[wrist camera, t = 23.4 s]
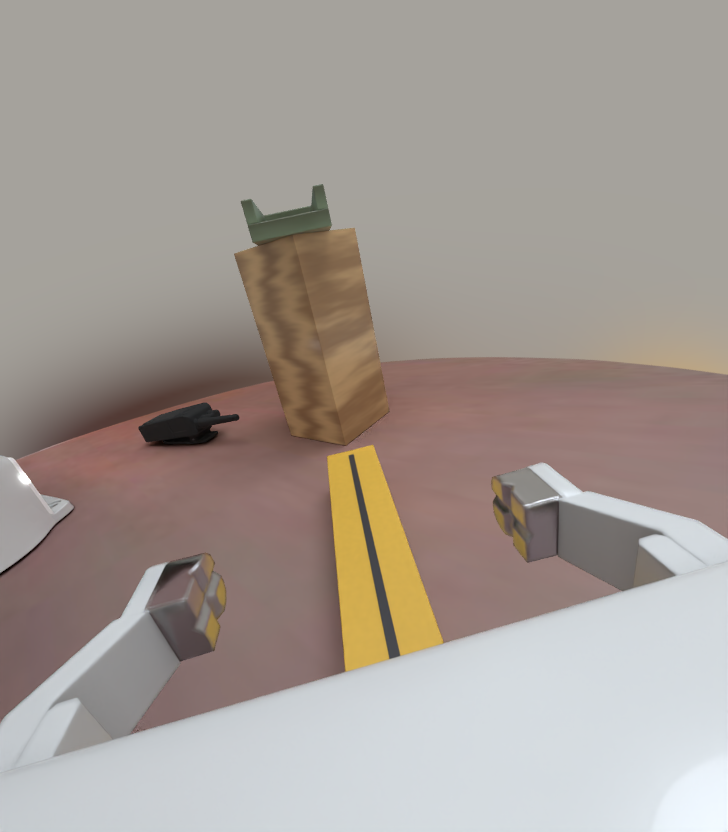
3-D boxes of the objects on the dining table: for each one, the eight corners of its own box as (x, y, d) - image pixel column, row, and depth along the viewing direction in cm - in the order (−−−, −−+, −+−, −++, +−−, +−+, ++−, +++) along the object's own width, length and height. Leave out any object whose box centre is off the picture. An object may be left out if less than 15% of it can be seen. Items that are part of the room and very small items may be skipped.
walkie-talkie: (173, 416, 62) (262, 401, 53) (165, 451, 60) (257, 441, 51) (139, 404, 57) (231, 385, 48) (129, 441, 55) (223, 428, 46)
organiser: (402, 433, 44) (355, 170, 33) (289, 461, 43) (203, 201, 32) (379, 394, 58) (341, 200, 47) (293, 415, 57) (234, 223, 46)
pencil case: (472, 753, 15) (463, 697, 14) (370, 783, 15) (349, 729, 14) (380, 479, 36) (372, 444, 34) (336, 490, 35) (326, 455, 34)
